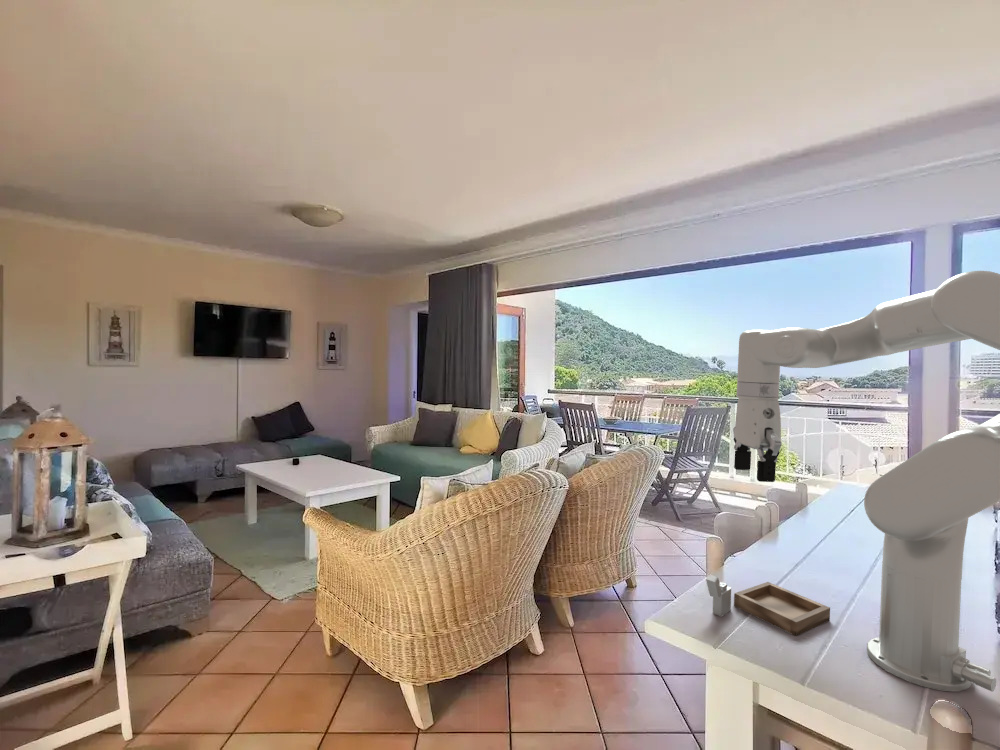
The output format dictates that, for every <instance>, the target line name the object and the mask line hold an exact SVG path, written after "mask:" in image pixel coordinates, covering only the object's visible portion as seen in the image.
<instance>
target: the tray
mask: <svg viewBox="0 0 1000 750" xmlns="http://www.w3.org/2000/svg"><path fill="white" fill-rule="evenodd" d="M733 595H734V597H733V607H736V608H738V609H740V610H741V611H743V612H745V613H748V614H750V615H751V616H754V617H757V618H758V619H760V620H762V621H764V622H766V623H768V624H770V625H772V626H774V627H776V628H778V629H780V630H782V631H784V632H787V633H789V634H791V635H792V636H794V637H798V636H800V635H801V634H804V633H806V632H808V631H809V632H810V630H814V629H815V628H817V627H819V626H822V625H825V624H826V623H828V622H830V621H831V618H830V617H831V607H829V606H827V605H826V604H823V603H820V602H817V601H815V600H812V599H810V598H808V597H805V596H804V595H800V594H798V593H796V592H794V591H791V590H789V589H787V588H784V587H781V586H779V585H777V584H775V583H771V582H769V581H766V582H763V583H760V584H757V585H753V586H752V587H748V588H746V589H743V590H740V591H738V592H734V593H733Z"/></svg>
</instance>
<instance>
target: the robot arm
mask: <svg viewBox="0 0 1000 750" xmlns="http://www.w3.org/2000/svg"><path fill="white" fill-rule="evenodd" d="M966 340H967V341H968V340H974V341H976V342H979V343H980V344H983V345H986V346H988V347H991V348H994V349H996V350H998V351H1000V273H999V272H995V271H990V270H970V271H967V272H963V273H959V274H956V275H954V276H952V277H950V278H948V279H946V280H945V281H944V282H942V283H941V285H939V286H938V287H937V288H936V289H932V290H928V291H925V292H921V293H916V294H912V295H910V296H905V297H902V298H901V297H900V298H897V299H894V300H889V301H885V302H882V303H879V304H878V305H876V306H875V307H874V308H873V309H872V310H871V311H870V313H868V314H867V315H865V316H863V317H860V318H859V319H855V320H852V321H848V322H844V323H840V324H837V325H833V326H829V327H824V328H819V329H815V328H806V327H786V328H785V327H784V328H779V329H774V330H773V329H771V330H770V329H751V330H744V331H742V332H741V334H740V335H739V340H738V354H737V355H738V357H737V358H738V359H737V361H738V362H737V382H736V399H738V400H737V403H736V404H737V406H736V412H735V413H736V414H735V424H734V427H733V429H732V432H733V441H734V445H733V450H734V458H733V459H734V461H733V463H734V464H733V468H734V470H736V471H750V470H751V465H752V464H751V461H752V460H751V459H752V451H751V450H750V449H753V450H757V454H758V458H759V460H757V465H756V466H757V471H756V473H757V474H756V481H758V482H761V483H765V482H766V483H774V482H775V481H776V471H777V470H776V468H777V467H776V466H777V465H776V464H777V462H778V457H779V456H780V450H781V447H782V423H781V422H782V421H781V420H782V418H781V410H780V408H781V407H780V402H779V393H780V377H781V376H780V373H781V367H784V368H790V369H791V368H792V369H804V368H805V369H807V368H808V369H818V368H819V369H820V368H826V367H832V366H839V365H842V364H847V363H849V364H850V363H853V362H857V361H863V360H868V359H872V358H877V357H884V356H890V355H894V354H897V353H903V352H907V351H914V350H918V349H919V350H920V349H922V348H928V347H932V346H939V345H943V344H948V343H953V342H954V343H955V342H956V343H957V342H961V341H966ZM765 451H766V452H765ZM999 502H1000V413H998V414H996V415H995V416H994V417H991V418H989V419H988V420H987V421H985V422H982V423H980V424H979V425H975V426H973V427H968V428H964V429H959V430H956V431H954V432H951V433H949V434H947V435H945V436H942V437H941V438H939V439H938V440H935V441H934V442H932V443H931V444H930V445H928V446H926V447H924V448H923V449H922V450H920V451H919V452H917V453H914V455H912V456H911V457H909V458H908V459H906V460H904V461H903V462H902V463H900V464H898V465H897V466H895V467H894V468H892V469H891V470H889V471H888V472H886V473H884V474H883V475H881V476H880V477H878V478H877V479H875V480H874V481H873V482H872V483H871V484H870V485H869V487H868V488H867V490H866V492H865V493H864V499H863V505H864V511H865V514H866V516H867V518H868V520H869V521H870V523H872V525H873V526H874V527H875V528H876V529H878V530H879V531H880V532H882V533H883V534H884V536H883V545H882V546H883V547H882V562H881V583H880V584H881V585H880V589H881V590H880V606H879V607H880V609H879V610H880V611H879V630H878V633H879V634H878V637H874V638H871V639H869V640H868V641H867V643H866V652H867V655H868V657H870V659H871V660H872V661H873V662H874V663H875V664H877V665H878V666H879V667H880V668H881V669H883V670H885V671H886V672H888V673H889V674H892V675H894V676H896V677H897V678H900V679H902V680H905V682H909V683H912V684H915V685H917V686H921V687H924V688H928V689H933V690H937V691H941V692H942V691H944V692H961V691H965V690H967V689H969V688H970V687H971V686H972V683H973V684H975V685H976V686H979V687H981V688H983V689H985V690H987V691H990V692H994V691H995V689H996V686H997V679H996V677H994V676H992V675H991V670H990V669H988V668H985V667H984V666H981V665H977V664H975V663H973V662H971V661H970V660H969V659H968V658H967V649H966V648H963V647H961V646H959V645H960V644H959V643H960V641H959V640H960V621H961V620H960V618H961V601H962V600H961V598H962V596H961V595H962V581H963V567H964V566H963V564H964V563H963V562H964V549H965V543H966V536H967V531H968V530H967V528H968V523H969V518H971V517H973V516H974V515H975V516H976V514H978V513H981V512H982V511H985V510H986V509H988V508H989V507H992V506H994V505H995V504H997V503H999Z"/></svg>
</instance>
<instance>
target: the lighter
mask: <svg viewBox="0 0 1000 750" xmlns="http://www.w3.org/2000/svg"><path fill="white" fill-rule="evenodd" d="M705 581H706V585H707V588H708V593H709V596H710V597H712V614H714V615H716V616H719V617H723V616H724V615H726V614H727V613H729V612H730V611H731V607H732V606H731V605H732V587H731V586H728V584H727V583H726V582H721V581H720V580H719V577H718V576H715V575H712V574H709V575H708V576H707V578H706V580H705Z"/></svg>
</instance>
